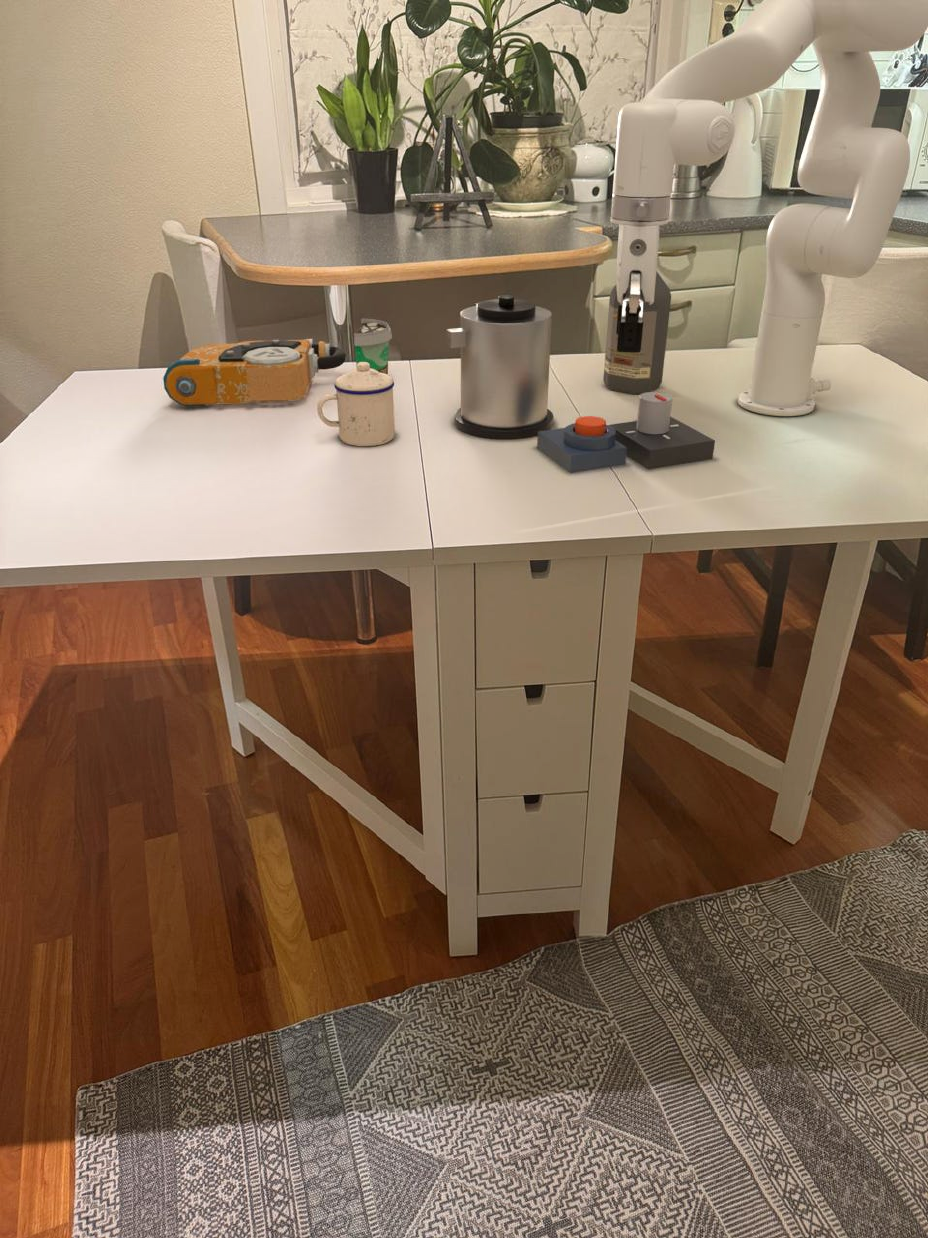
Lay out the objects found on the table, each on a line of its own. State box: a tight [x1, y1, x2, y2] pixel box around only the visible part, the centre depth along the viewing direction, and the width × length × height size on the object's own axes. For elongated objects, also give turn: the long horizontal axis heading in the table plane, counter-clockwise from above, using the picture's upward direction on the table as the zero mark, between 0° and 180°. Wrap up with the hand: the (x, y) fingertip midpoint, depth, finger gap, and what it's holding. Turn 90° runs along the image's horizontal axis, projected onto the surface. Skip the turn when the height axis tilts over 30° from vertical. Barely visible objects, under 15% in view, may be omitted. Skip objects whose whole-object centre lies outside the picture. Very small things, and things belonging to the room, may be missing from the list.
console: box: [608, 415, 716, 470], centre depth 137 cm, size 11×12×3 cm
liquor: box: [603, 270, 672, 395], centre depth 158 cm, size 9×9×30 cm
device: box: [162, 338, 347, 408], centre depth 162 cm, size 23×8×30 cm
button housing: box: [536, 422, 627, 474], centre depth 135 cm, size 9×11×4 cm
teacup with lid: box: [316, 362, 396, 447], centre depth 140 cm, size 12×9×12 cm
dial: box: [636, 391, 673, 435], centre depth 136 cm, size 5×5×5 cm
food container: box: [353, 318, 393, 375], centre depth 167 cm, size 12×6×10 cm, turn 179°
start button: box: [574, 415, 607, 436], centre depth 132 cm, size 4×4×2 cm
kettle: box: [446, 294, 554, 441], centre depth 145 cm, size 17×20×20 cm
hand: (627, 342), depth 128 cm, fingers open, 9 cm apart
